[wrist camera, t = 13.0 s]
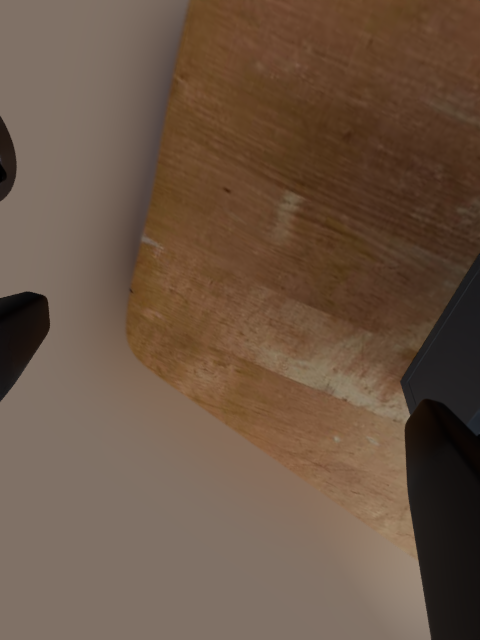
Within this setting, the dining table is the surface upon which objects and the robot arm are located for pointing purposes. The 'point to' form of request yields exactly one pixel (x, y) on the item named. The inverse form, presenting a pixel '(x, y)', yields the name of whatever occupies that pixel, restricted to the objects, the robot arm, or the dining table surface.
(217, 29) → the dining table surface
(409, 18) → the dining table surface
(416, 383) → the box
